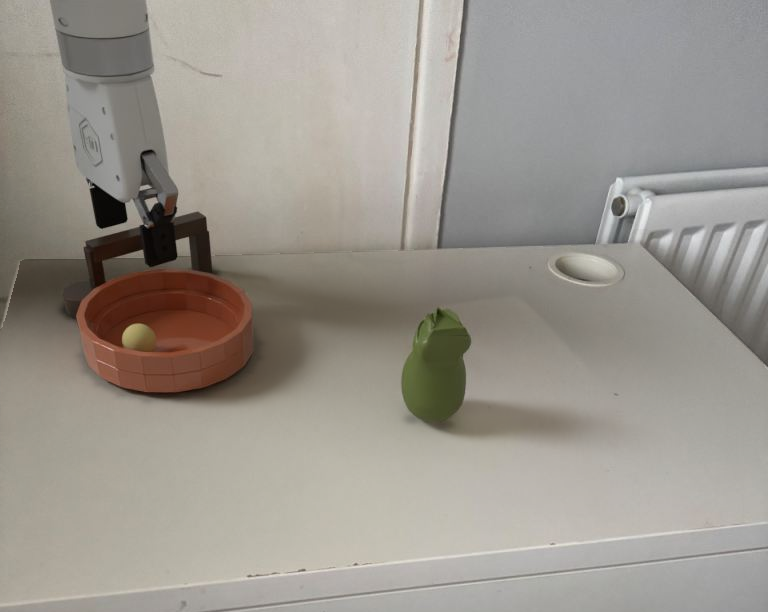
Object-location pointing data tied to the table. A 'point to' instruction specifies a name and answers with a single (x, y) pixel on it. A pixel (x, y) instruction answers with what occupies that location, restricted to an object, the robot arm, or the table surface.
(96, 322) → the bowl
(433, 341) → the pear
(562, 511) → the table surface
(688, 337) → the table surface
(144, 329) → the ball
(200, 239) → the ladle
